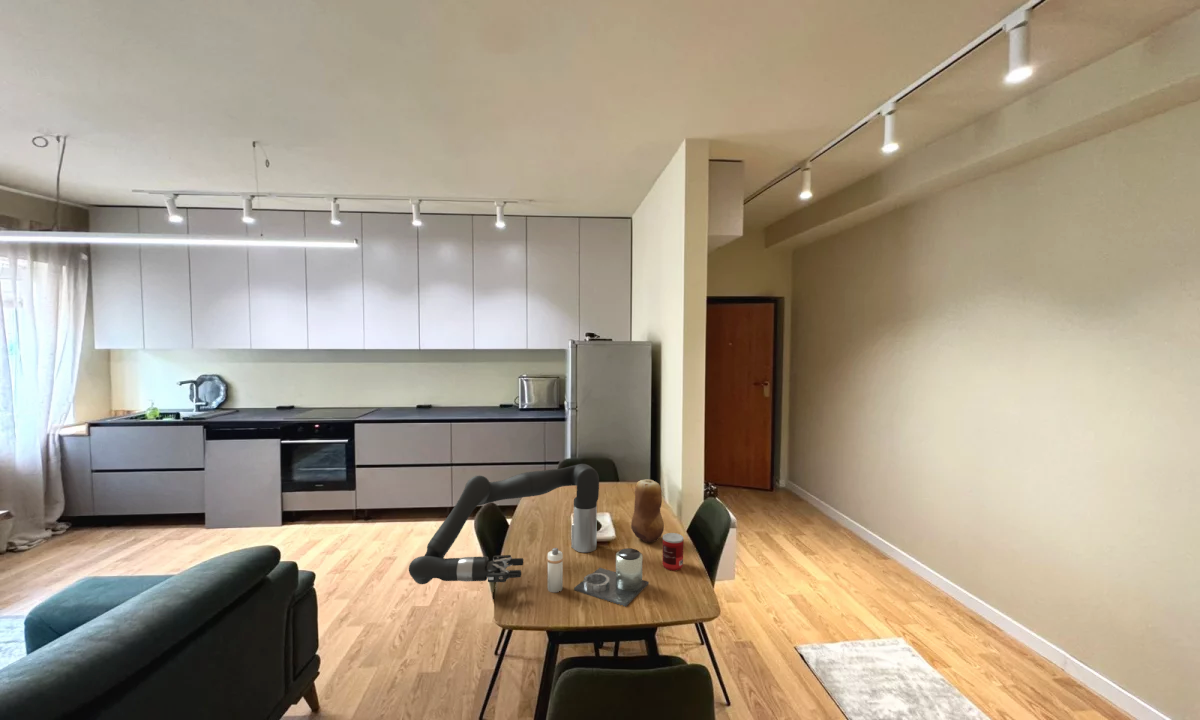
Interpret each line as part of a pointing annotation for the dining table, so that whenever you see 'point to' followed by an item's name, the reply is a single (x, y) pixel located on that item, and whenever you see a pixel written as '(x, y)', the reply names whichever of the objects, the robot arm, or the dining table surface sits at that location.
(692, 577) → the dining table surface
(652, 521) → the butternut squash
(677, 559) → the canned food
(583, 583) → the grey tray with jar
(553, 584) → the bottle
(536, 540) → the dining table surface
